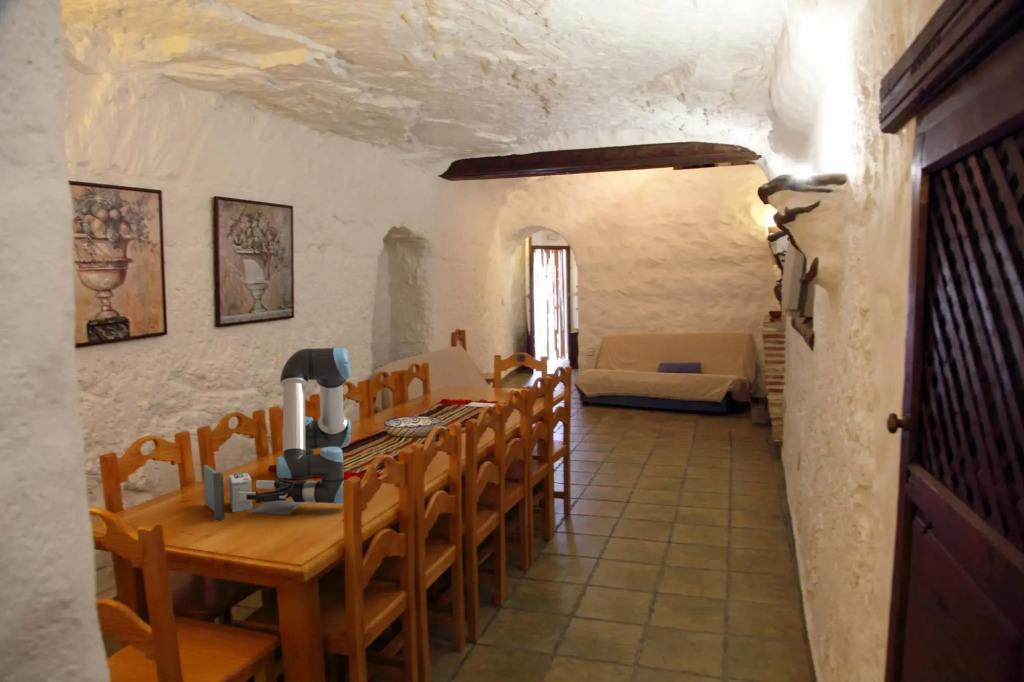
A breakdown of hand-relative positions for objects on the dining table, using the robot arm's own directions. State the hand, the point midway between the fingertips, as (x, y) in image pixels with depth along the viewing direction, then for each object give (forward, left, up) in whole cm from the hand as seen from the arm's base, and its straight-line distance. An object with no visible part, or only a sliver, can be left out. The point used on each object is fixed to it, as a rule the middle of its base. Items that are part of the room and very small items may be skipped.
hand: (247, 489), depth 252 cm
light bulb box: (-1, -3, -7) cm, 7 cm away
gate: (+5, -10, -6) cm, 13 cm away
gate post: (+13, -4, -6) cm, 15 cm away
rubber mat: (-1, +10, -6) cm, 12 cm away
